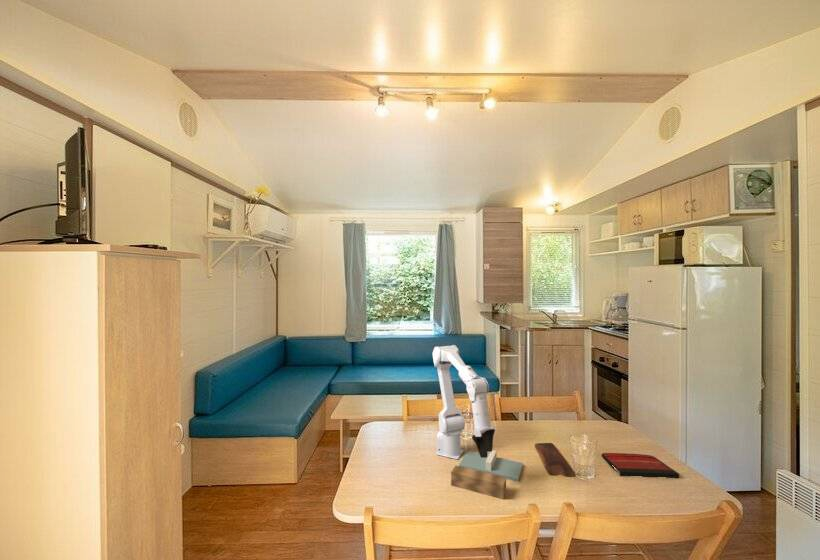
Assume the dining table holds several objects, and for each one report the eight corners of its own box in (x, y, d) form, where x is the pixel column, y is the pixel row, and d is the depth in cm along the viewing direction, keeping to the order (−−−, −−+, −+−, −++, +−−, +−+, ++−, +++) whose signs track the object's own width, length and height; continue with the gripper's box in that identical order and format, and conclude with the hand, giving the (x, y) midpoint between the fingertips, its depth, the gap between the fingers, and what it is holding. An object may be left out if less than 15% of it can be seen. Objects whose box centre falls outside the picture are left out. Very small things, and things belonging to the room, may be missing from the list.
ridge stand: (459, 467, 136) (459, 457, 136) (467, 453, 147) (467, 443, 147) (518, 481, 127) (518, 470, 126) (522, 465, 137) (523, 455, 137)
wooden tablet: (532, 440, 157) (555, 438, 156) (532, 445, 157) (556, 443, 156) (548, 473, 130) (576, 472, 129) (549, 479, 130) (577, 478, 129)
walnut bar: (451, 486, 124) (451, 472, 124) (455, 478, 129) (455, 465, 129) (503, 500, 116) (503, 485, 116) (505, 491, 121) (506, 477, 121)
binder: (679, 473, 129) (619, 471, 130) (679, 479, 129) (619, 477, 130) (652, 453, 145) (599, 451, 146) (652, 459, 145) (599, 457, 146)
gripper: (487, 416, 119) (493, 460, 116) (496, 409, 132) (502, 449, 129) (467, 417, 122) (472, 460, 119) (477, 410, 135) (483, 448, 131)
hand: (486, 454), depth 124 cm, fingers open, 7 cm apart
